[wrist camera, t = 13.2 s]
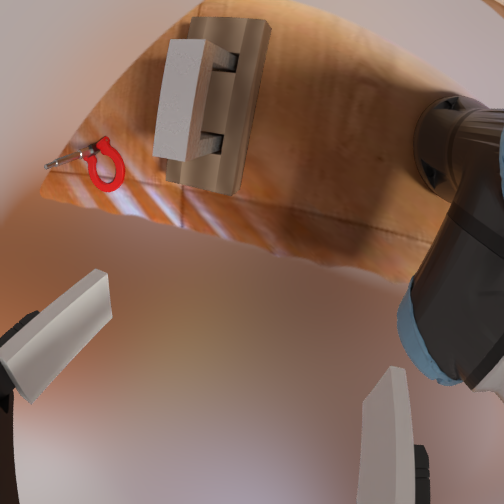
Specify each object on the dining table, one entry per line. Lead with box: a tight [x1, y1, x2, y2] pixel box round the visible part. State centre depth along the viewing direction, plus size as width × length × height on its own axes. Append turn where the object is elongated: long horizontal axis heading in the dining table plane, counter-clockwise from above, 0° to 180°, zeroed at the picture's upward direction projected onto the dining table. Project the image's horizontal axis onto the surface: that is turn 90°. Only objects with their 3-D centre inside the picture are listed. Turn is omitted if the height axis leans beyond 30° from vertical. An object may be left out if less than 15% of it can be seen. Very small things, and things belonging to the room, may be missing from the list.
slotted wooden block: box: [166, 17, 272, 196], centre depth 36 cm, size 10×24×4 cm, turn 169°
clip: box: [153, 39, 239, 162], centre depth 32 cm, size 4×13×13 cm, turn 169°
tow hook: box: [44, 136, 125, 192], centre depth 41 cm, size 8×13×9 cm
